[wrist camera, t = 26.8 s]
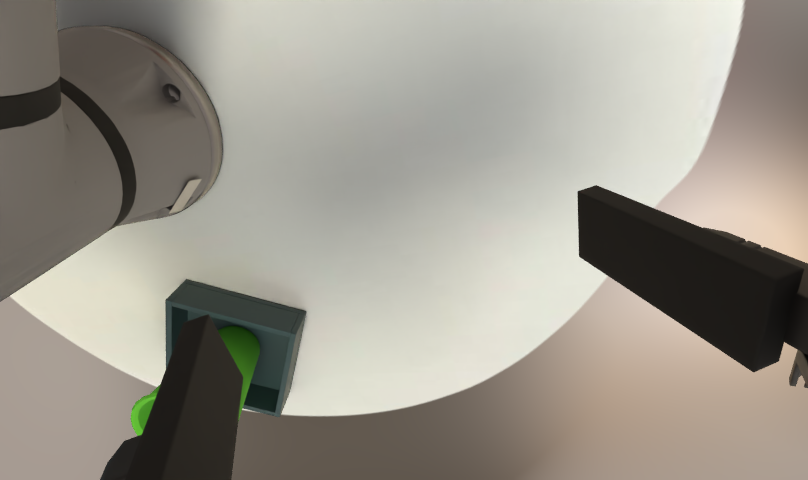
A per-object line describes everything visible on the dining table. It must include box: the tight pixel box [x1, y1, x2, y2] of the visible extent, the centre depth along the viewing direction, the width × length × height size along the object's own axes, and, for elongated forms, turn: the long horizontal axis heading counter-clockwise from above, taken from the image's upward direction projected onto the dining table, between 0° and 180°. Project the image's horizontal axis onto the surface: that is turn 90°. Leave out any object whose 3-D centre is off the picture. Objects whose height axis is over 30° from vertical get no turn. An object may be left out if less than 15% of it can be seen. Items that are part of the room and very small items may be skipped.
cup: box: [131, 326, 260, 436], centre depth 40 cm, size 9×9×11 cm
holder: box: [166, 280, 306, 417], centre depth 43 cm, size 13×13×4 cm
